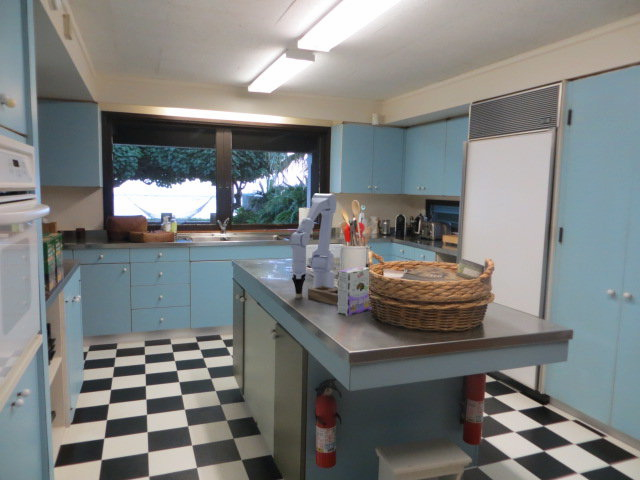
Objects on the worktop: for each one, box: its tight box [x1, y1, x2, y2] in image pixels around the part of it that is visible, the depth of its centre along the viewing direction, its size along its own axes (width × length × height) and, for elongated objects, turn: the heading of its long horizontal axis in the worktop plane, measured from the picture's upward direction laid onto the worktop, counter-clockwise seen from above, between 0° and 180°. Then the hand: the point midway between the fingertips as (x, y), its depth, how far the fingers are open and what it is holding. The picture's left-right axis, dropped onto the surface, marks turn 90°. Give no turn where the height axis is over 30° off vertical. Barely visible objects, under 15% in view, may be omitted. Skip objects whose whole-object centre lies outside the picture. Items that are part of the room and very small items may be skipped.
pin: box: [294, 286, 304, 299], centre depth 196 cm, size 3×3×8 cm
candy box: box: [336, 266, 371, 317], centre depth 176 cm, size 14×6×16 cm, turn 134°
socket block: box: [307, 286, 338, 306], centre depth 194 cm, size 9×16×4 cm, turn 46°
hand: (298, 292), depth 196 cm, fingers open, 5 cm apart
